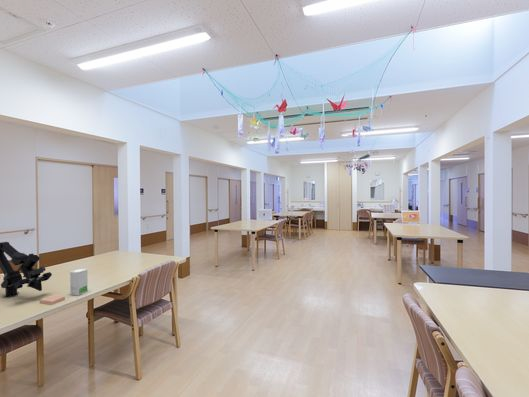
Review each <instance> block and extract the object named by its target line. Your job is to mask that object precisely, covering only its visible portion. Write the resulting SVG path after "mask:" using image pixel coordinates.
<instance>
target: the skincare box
mask: <svg viewBox="0 0 529 397" xmlns="http://www.w3.org/2000/svg"><path fill="white" fill-rule="evenodd" d="M69 274H70V276H69V277H70V278H69V279H70V280H69V281H70V282H69V283H70V286H69V287H70V288H69V290H70V291H69V292H70V296H80V295H82V294H85V293H87V292H88V288H89V287H88V268H78V269H75V270H72V271H70V272H69Z"/></svg>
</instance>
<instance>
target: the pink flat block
mask: <svg viewBox="0 0 529 397" xmlns="http://www.w3.org/2000/svg"><path fill="white" fill-rule="evenodd" d="M63 301H66V296H64V295H62V296H61V295H56V294H53V295H50V296H46V297H44V298H41V299H39V304H43V305H50V306H53V305H56V304H58V303H61V302H63Z"/></svg>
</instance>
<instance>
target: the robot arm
mask: <svg viewBox="0 0 529 397" xmlns="http://www.w3.org/2000/svg"><path fill="white" fill-rule="evenodd" d="M6 255H7V256H8V257H9V258H11V263H12V264H13V265H14V266H18V268H17V270H14V268H13V266H12V265H11V263H10V261H9V259H8V258H7V256H6ZM40 259H41V258H40V257H39V255H36V254H34V253H29V254H28V255H27V254H26V253H24V252H20V251H18V249H16V248H15V247H14V246H12V245H11V244H10V242H9V241H2V242H0V269H1V271H2V273H3V275H4V276H3V280H2V282H1V283H0V288H1V289H5V290H4V291H5V292H4V293H5V294H4V296H3V298H5V299H6V298H9V297H10V298H11V297H17V296H18V295H19V294H20V292H19V291H18V290H19V289H22V288H23V285H26V287H28V288H32V289H35V290H36V291H39V292H42V291H43V286H42V282H47V281H48V280H49V279H50V278H51V277H52V275H53V274H52V272H50V271H48V272H45V271H46V267H45V265H43V266H40V267H39V268H34V267H35V265H36V264H37V263H39V261H40ZM19 265H20V266H19ZM20 272H21V273H22V274H21V273H20ZM44 272H45V273H44ZM22 275H23V276H22Z"/></svg>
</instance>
